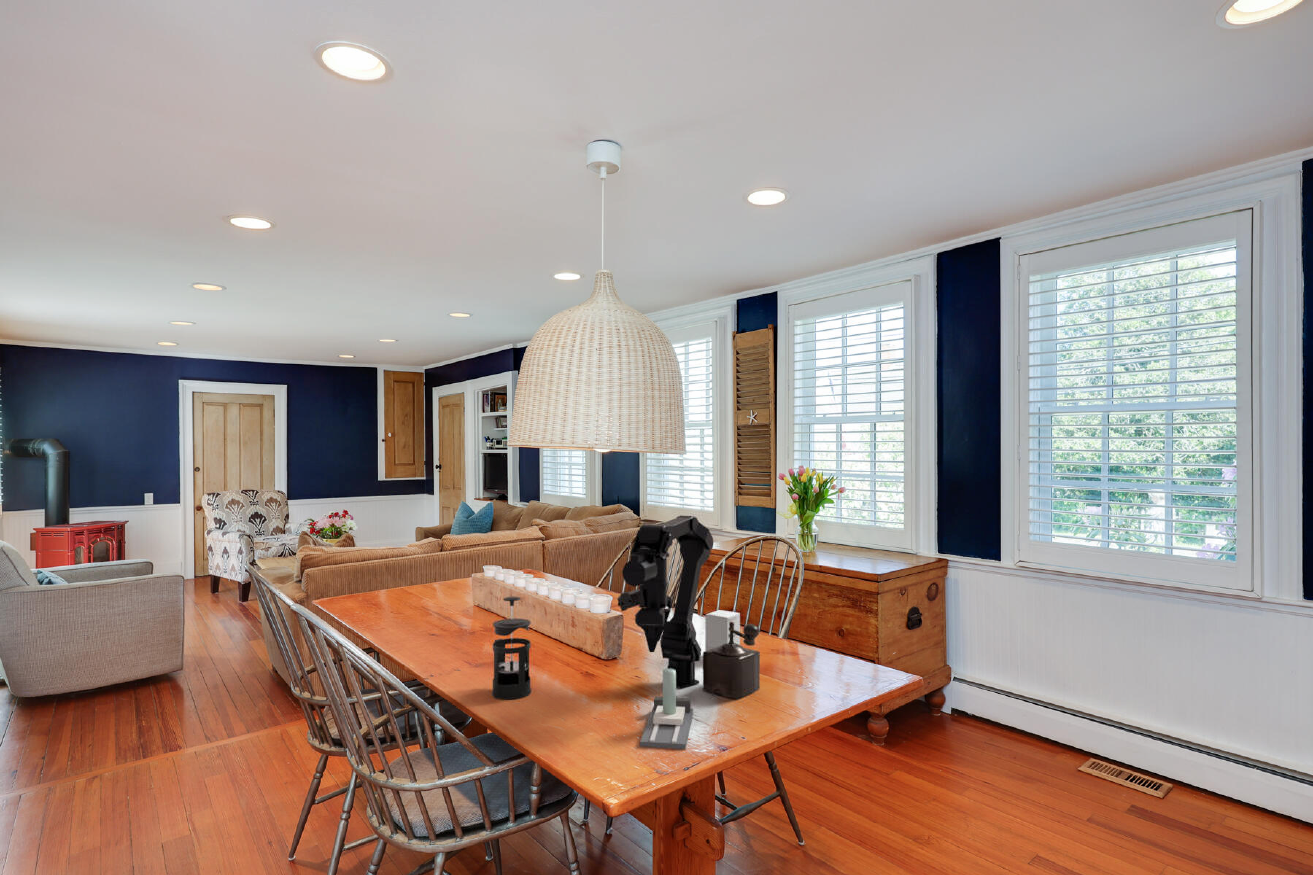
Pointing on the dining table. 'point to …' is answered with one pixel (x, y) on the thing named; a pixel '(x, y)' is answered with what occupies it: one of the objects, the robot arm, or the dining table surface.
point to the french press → (511, 674)
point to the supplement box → (720, 628)
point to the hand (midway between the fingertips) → (654, 646)
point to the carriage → (669, 702)
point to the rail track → (668, 728)
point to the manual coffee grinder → (733, 666)
